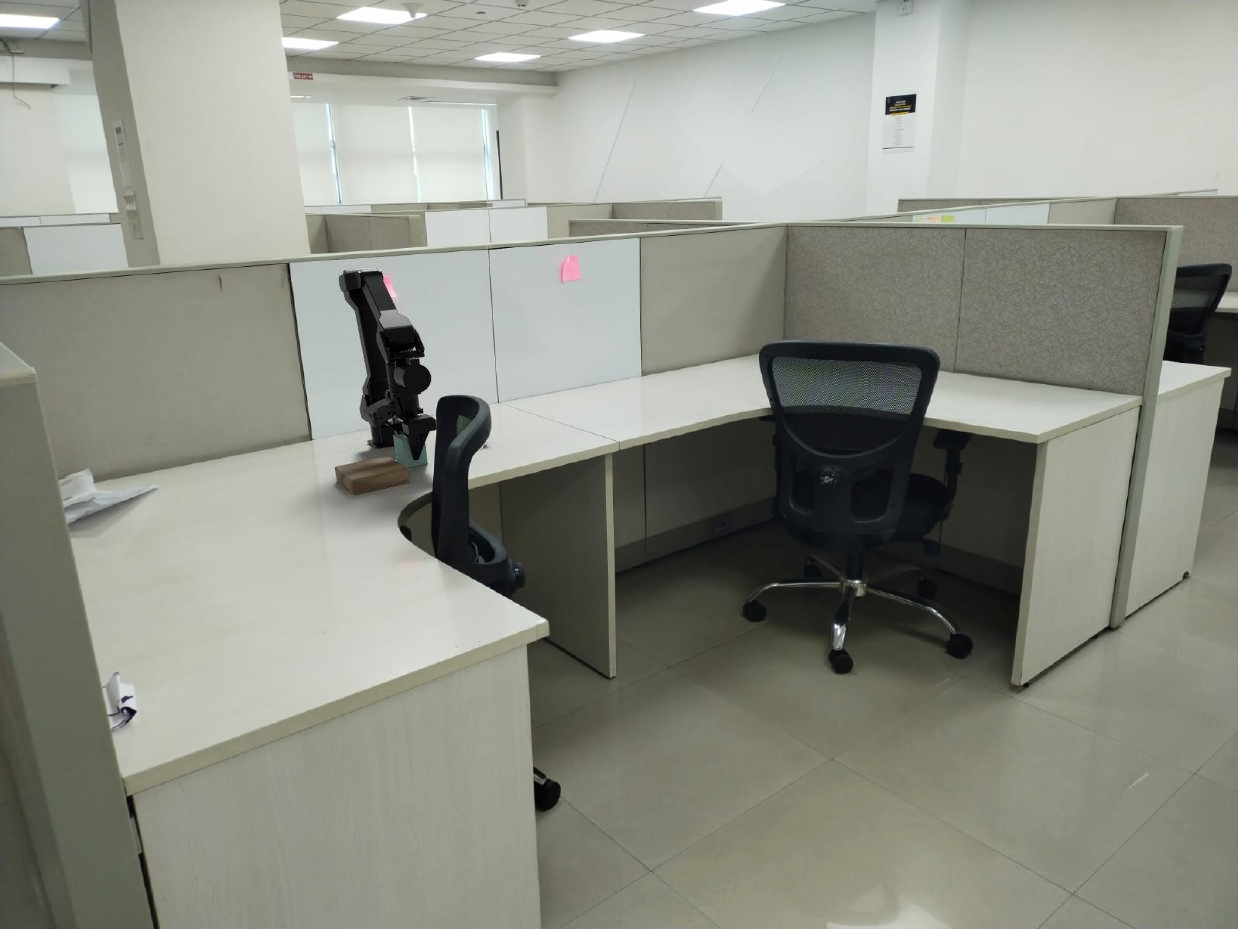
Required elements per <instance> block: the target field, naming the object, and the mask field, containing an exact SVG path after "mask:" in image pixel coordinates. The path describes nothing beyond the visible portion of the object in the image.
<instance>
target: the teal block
mask: <svg viewBox="0 0 1238 929" xmlns="http://www.w3.org/2000/svg"><path fill="white" fill-rule="evenodd" d="M393 438H394V445H393V446H394V454H395V461H397V462H398V463H400V464H402V465H403V466H405V467H406V468H407V469H409V468H411V467H415V466H420V465H426V464H428V463H429V461H428V454H427V444H426V442H425V444H424V447H423V450H422V452H421V455H420V458H419V460H413V457H412V454H411V450H410V446H409V442H408V439H407V437H406V436H405V435H403V434H398V435H393Z"/></svg>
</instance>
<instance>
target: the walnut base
mask: <svg viewBox="0 0 1238 929" xmlns="http://www.w3.org/2000/svg"><path fill="white" fill-rule="evenodd" d="M408 469H409V468H406V467H405V466H403V465H402V464H400V463H398V462H397V461H396V459H394V458H392V457H390V456H389V455H386V456H385V455H384V456H381V457H376V458H372V459H365V460H361V461H356V462H352V463H351V462H350V463H347V464H341V465H336V466H334V472H335V479H336V480H335V481H337V482H338V484H340V485H342V487H344V488H345V489H346V490H347V491H349V492H350V493H351V494H353V495H355V496H356V495H359V494H364V493H369V492H373V491H376V490H381V489H386V488H391V487H395V486H400V485H406V484H408V483H410V477H409V470H408Z"/></svg>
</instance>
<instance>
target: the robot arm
mask: <svg viewBox="0 0 1238 929" xmlns="http://www.w3.org/2000/svg"><path fill="white" fill-rule="evenodd" d="M384 280H385V279H384V275H383V271H382V269H381V268H377V267H374V268H372V267H364V268H355V269H353V268H352V269H343V272H342V274H340V275H339V276H338V285H339V289H340V291H341V292H342V293H343V297H344V300H345V302H346V303H347V304H348V305H349V306H350V307H351V309H352V310H353V311H354V314H355V320H356V326H357V330H358V335H359V340H360V344H361V350H362V354H363V362H364V366H365V371H366V377H365V380H364V383H363V386H362V388H361V390H362V395H361V400H360V405H359V412H360V418H361V419H362V420H364V421H365V422H366V423H367V422H368V424H369V427H370V435H371V439H367V440H366V441H367V443H368V444H369V445H370V446H372V447H374V448H375V449H379V448H385V447H389V446H394V438H393V435H398V434H403V435H405V436H406V437H407V439H408V442H409V446H410V450H411V454H412V457H413V460H419V458H420V455H421V452H422V450H423V447H424V444H425V443H426V441H427V439H428V436H429V434H430V432H433V431H438V429H437V425H438V420H437V419H436V418H434V417H433V416H431V415H429V414H427V413H424V408H423V407H421V406H420V400H419V395H422V393H423V392H425V391H426V390H428V389H429V387H430V386H431V383H432V374H431V372H430V370H429V368H427V366H425V365H423V364H421V360H420V359H421V358H425V356H426V355H425V349H426V348H425V345H424V343H423V341H422V338H421V336H420V333H419V332H418V331H417V329H416V327H414V326H413V324H412V322H411V321H410V319H409V317H407V316H406V315H405V314H402V313H401V312H399V310H398V309H397V306H396V304H395V303H394V300H393V299H392V298H393V297H392V295H391V294H390V292H389V289H388V287H387V285H386V283H385V281H384Z"/></svg>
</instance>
